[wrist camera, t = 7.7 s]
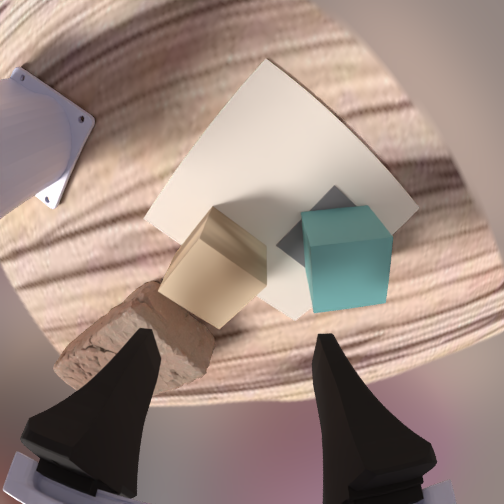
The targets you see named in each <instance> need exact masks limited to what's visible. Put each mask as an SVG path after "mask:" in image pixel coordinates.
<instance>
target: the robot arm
mask: <svg viewBox="0 0 504 504" xmlns="http://www.w3.org/2000/svg"><path fill="white" fill-rule="evenodd" d="M24 76H25V78H24ZM23 78H24V79H23ZM82 116H83V117H84V122H82V121H81V117H82ZM94 124H95V119H94V117H93V116H92V115H90V114H89V113H87V112H86V111H85V110H83V109H82V108H80V107H79V106H77V105H76V104H74V103H73V102H72V101H70V100H69V99H67V98H66V97H64V96H63V95H61V94H60V93H58V92H57V91H56V90H54V89H53V88H51V87H50V86H48V85H47V84H45V83H44V82H42V81H41V80H39V79H38V78H36V77H35V76H33V75H32V74H30V73H29V72H27V71H26V70H24V69H23V68H21V67H16V68H15V69H14V70H13V72H12V75H11V77H10V78H8V79H1V80H0V219H1V218H2V217H4V216H5V215H7V214H8V213H9V212H11V211H12V210H14V209H15V208H17V207H18V206H19V205H21V204H22V203H24V202H25V201H27V200H28V199H30V198H31V197H33V196H36V197H37V198H39V199H40V200H41V201H42V202H44V203H45V204H46V205H47V206H49V207H50V208H51V209H55V208H56V207H58V205H59V202H60V200H61V197H62V195H63V192H64V189H65V187H66V185H67V182H68V180H69V177H70V175H71V173H72V170H73V168H74V166H75V164H76V161H77V159H78V157H79V155H80V153H81V151H82V149H83V146H84V144H85V142H86V140H87V138H88V136H89V134H90V132H91V130H92V129H93V127H94ZM48 197H49V199H50V201H49V200H48ZM160 364H161V356H160V353H159V350H158V346H157V343H156V340H155V337H154V334H153V330H152V329H148V328H139V329H138V330H137V331H136V332H135V333H134V335H133V336H132V337H131V338H130V339H129V340H128V341H127V343H126V344H125V345H124V346H123V347H122V348H121V349H120V351H119V352H118V353H117V354H116V355H115V356H114V357H113V358H112V359H111V360H110V361H109V362H108V363H107V364H106V365H105V366H104V367H103V368H102V369H101V370H100V371H99V372H98V373H97V374H96V375H95V376H94V377H93V378H92V379H91V380H90V381H89V382H87V383H86V384H85V385H84V386H83V387H81V388H80V389H79V390H78V391H76V392H75V393H73V394H72V395H71V396H69V397H68V398H66V399H65V400H63V401H62V402H60V403H58V404H57V405H55V406H53V407H51V408H50V409H48V410H46V411H44V412H42V413H39V414H37V415H35V416H33V417H31V418H29V420H28V422H27V424H26V426H25V429H24V431H23V433H22V436H21V438H20V440H21V442H22V443H23V444H24V445H25V446H26V447H27V448H28V449H29V450H30V451H32V452H33V453H34V454H35V455H37V456H38V457H39V458H40V461H39V463H38V462H36V461H35V460H33V459H31V458H29V457H27V456H25V455H23V454H22V453H20V452H16V454H15V456H14V459H13V462H12V464H11V467H10V470H9V473H8V475H7V479H6V481H5V484H4V487H3V491H4V492H6V493H7V494H9V495H10V496H12V497H14V498H15V499H17V500H18V501H20V502H21V503H23V504H150V503H146V502H141V501H137V500H133V499H131V498H133V497H135V496H137V473H138V461H139V452H140V444H141V438H142V431H143V426H144V422H145V418H146V414H147V411H148V408H149V405H150V402H151V398H152V395H153V392H154V389H155V386H156V383H157V379H158V375H159V370H160ZM312 375H313V386H314V392H315V397H316V402H317V408H318V413H319V418H320V424H321V432H322V447H323V504H456V500H455V495H454V491H453V487H452V483H451V480H446V481H443V482H441V483H438V484H435V485H432V486H429V487H427V488H424V489H422V488H421V484H423V477H422V476H423V475H424V474H425V473H427V472H428V471H429V470H431V469H432V468H433V467H434V466H435V465H436V463H437V460H436V456H435V453H434V450H433V448H432V446H431V443H429V442H427V441H426V440H425V439H423V438H422V437H420V436H419V435H417V434H415V433H414V432H413V431H411V430H410V429H409V428H408V427H406V426H405V425H404V424H403V423H401V421H399V420H398V419H397V418H396V417H395V416H394V415H393V414H392V413H390V412H389V411H388V410H387V409H386V408H385V407H384V406H383V405H382V403H381V402H380V401H378V399H377V398H376V397H375V396H374V395H373V393H372V392H371V391H370V390H369V389H368V387H367V386H366V385H365V383H364V382H363V381H362V379H361V378H360V377H359V375H358V374H357V372H356V371H355V370H354V368H353V367H352V365H351V364H350V362H349V361H348V359H347V357H346V356H345V354H344V352H343V351H342V349H341V347H340V346H339V344H338V342H337V340H336V338H335V337H334V335H333V334H332V333H331V334H318V337H317V342H316V346H315V351H314V356H313V360H312Z"/></svg>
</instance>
